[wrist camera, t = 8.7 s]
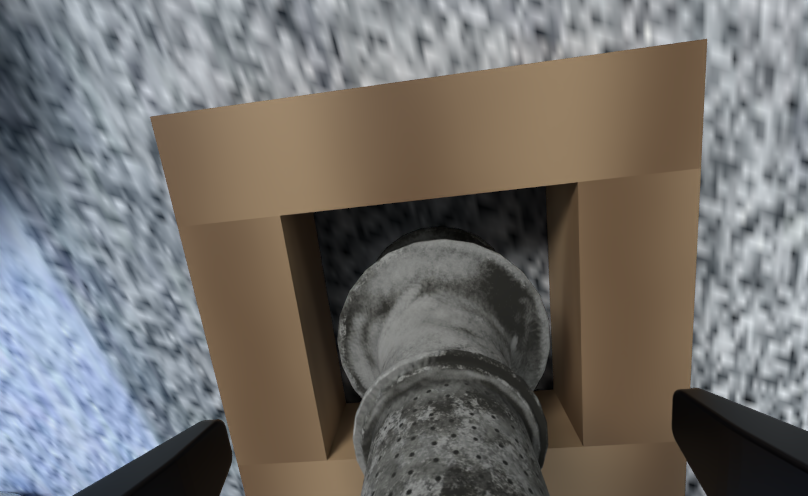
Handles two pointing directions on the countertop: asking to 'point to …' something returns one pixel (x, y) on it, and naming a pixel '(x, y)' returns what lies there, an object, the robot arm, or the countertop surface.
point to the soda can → (8, 494)
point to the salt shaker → (446, 370)
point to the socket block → (443, 177)
